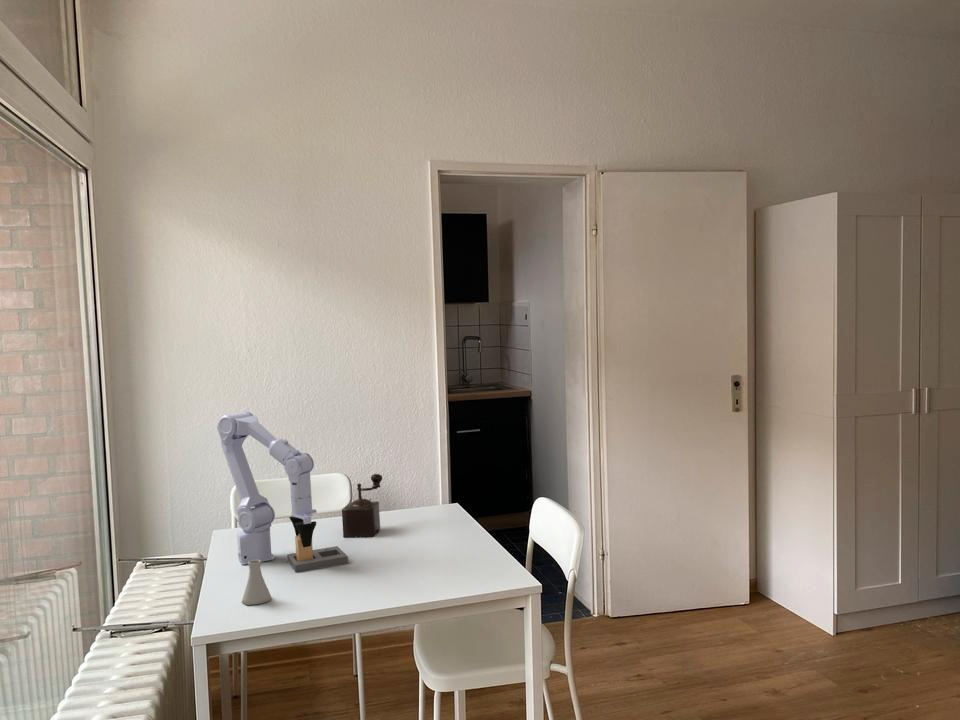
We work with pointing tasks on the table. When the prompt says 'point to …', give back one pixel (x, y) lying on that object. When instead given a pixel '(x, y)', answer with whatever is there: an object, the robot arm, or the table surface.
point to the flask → (255, 586)
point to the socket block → (319, 559)
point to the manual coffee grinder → (362, 514)
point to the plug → (302, 550)
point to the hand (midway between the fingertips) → (304, 543)
